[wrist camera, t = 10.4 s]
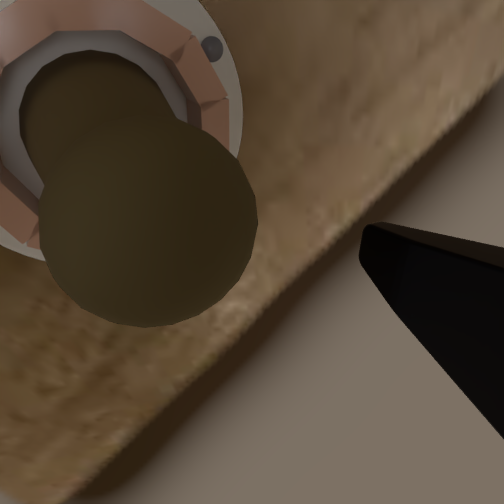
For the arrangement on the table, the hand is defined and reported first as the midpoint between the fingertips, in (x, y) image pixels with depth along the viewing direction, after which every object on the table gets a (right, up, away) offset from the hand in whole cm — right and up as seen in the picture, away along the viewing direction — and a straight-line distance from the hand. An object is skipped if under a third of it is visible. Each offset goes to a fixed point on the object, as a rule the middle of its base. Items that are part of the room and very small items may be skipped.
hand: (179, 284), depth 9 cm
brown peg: (-5, +6, +9) cm, 12 cm away
